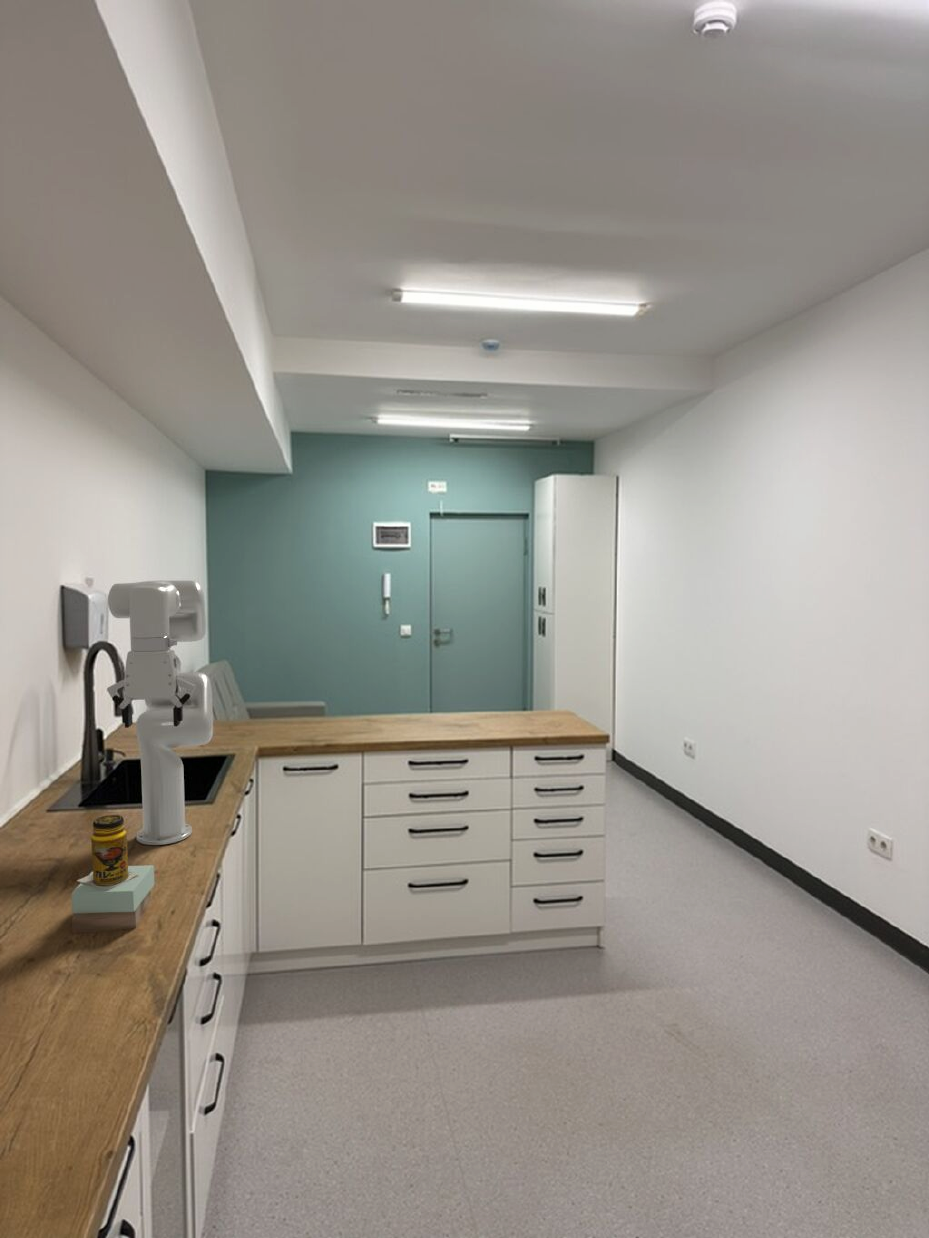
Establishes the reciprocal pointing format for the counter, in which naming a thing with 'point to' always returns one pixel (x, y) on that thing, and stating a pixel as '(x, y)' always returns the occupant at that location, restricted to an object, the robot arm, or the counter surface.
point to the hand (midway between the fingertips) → (153, 725)
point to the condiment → (109, 853)
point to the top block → (114, 893)
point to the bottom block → (109, 919)
